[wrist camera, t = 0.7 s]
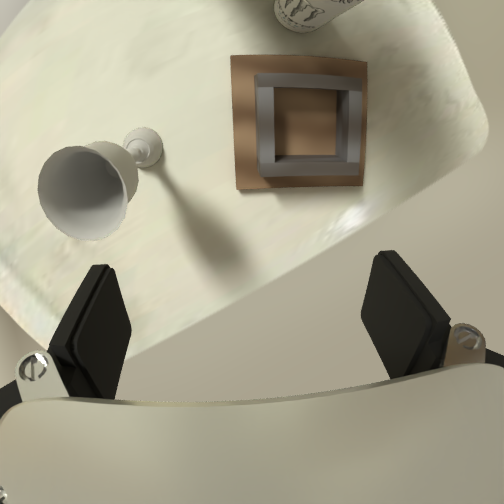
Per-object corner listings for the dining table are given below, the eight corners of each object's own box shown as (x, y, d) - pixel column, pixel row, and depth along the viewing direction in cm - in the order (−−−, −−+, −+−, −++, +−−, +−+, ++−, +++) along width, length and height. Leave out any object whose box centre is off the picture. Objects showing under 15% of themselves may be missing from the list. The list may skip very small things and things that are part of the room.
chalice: (181, 135, 34) (143, 172, 18) (157, 184, 36) (110, 256, 21) (128, 110, 32) (51, 130, 16) (107, 160, 34) (30, 216, 19)
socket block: (230, 56, 30) (231, 50, 25) (363, 62, 31) (382, 60, 26) (236, 186, 38) (237, 200, 33) (358, 183, 38) (375, 196, 34)
